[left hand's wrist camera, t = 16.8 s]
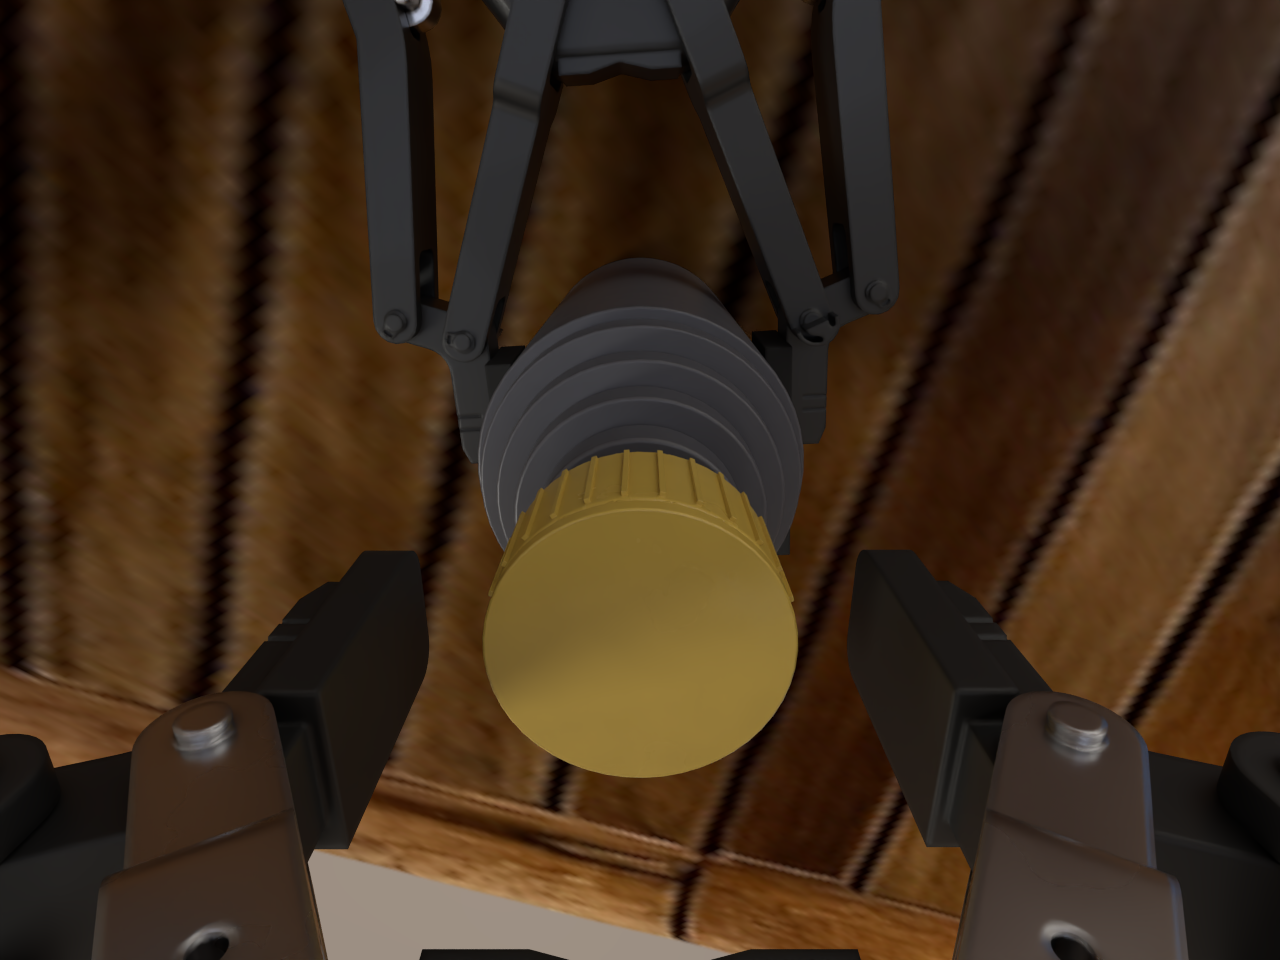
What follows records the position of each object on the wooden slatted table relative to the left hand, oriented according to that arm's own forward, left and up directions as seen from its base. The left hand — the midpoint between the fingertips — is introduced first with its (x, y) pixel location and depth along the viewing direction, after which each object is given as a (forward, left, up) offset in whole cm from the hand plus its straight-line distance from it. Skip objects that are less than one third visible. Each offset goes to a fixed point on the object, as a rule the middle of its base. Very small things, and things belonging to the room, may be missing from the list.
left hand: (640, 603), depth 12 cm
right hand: (+2, -4, -12) cm, 13 cm away
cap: (0, 0, +2) cm, 2 cm away
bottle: (0, 0, -18) cm, 18 cm away
